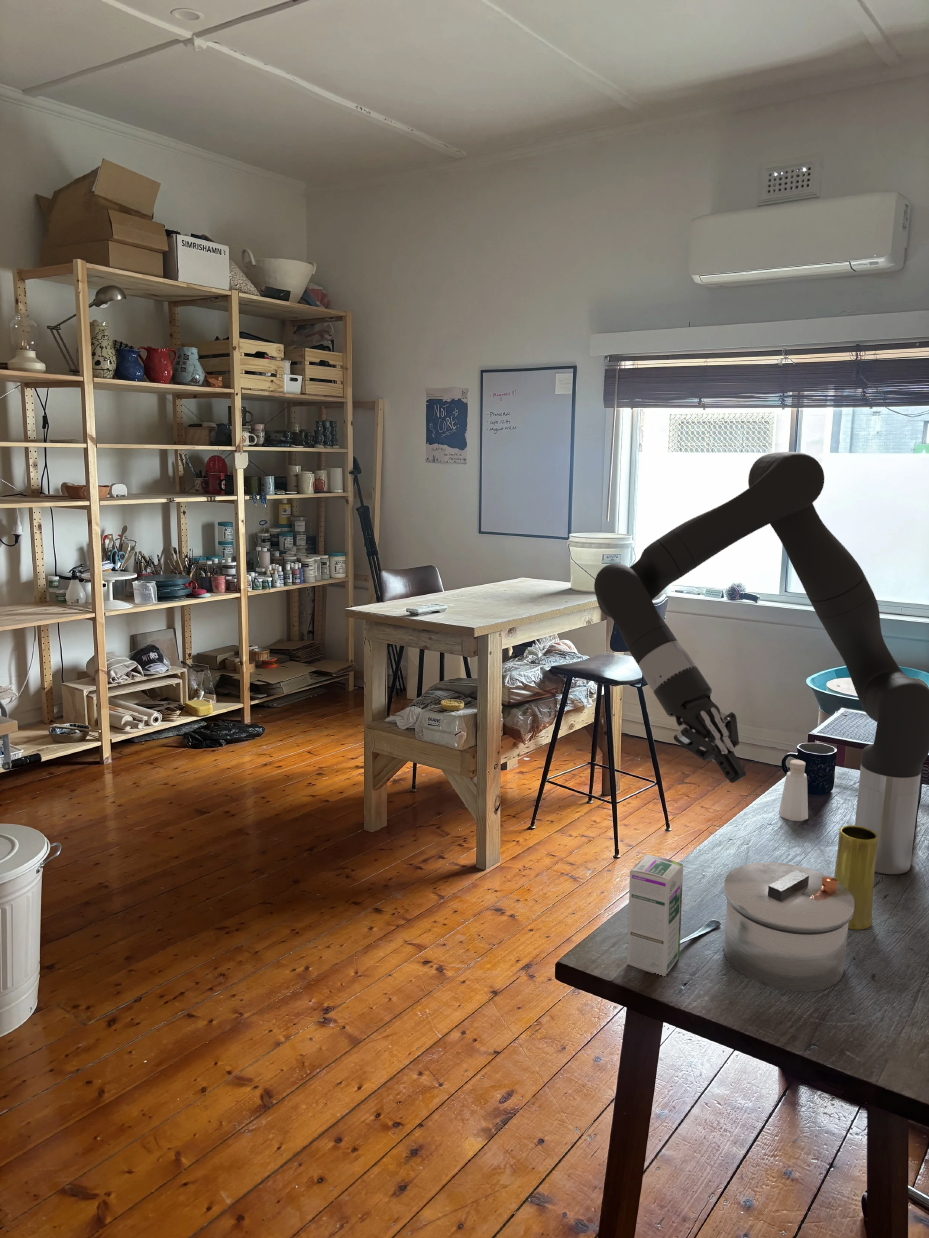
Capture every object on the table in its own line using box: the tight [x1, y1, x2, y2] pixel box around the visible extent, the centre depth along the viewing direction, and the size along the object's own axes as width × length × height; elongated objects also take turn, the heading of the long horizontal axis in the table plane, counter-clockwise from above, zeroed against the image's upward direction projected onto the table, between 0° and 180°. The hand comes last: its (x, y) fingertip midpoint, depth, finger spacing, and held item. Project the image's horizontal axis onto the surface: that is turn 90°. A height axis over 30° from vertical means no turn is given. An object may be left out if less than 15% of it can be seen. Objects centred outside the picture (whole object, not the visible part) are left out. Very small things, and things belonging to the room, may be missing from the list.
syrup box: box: [626, 854, 684, 977], centre depth 125 cm, size 6×6×14 cm
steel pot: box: [723, 899, 849, 993], centre depth 127 cm, size 16×16×9 cm
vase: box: [833, 824, 878, 931], centre depth 137 cm, size 6×6×14 cm
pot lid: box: [723, 861, 854, 932], centre depth 126 cm, size 17×17×3 cm
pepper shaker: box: [778, 759, 809, 822], centre depth 174 cm, size 5×5×11 cm
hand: (739, 779), depth 130 cm, fingers closed
